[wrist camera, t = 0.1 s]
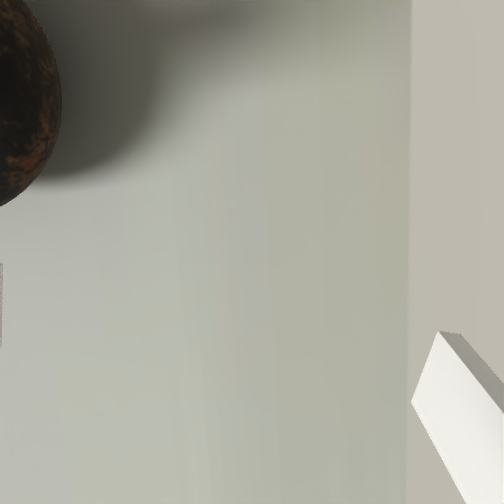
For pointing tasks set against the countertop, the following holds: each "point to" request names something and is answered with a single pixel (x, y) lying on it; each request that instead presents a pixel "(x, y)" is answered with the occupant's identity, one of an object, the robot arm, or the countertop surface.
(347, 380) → the countertop surface
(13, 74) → the glass bottle
